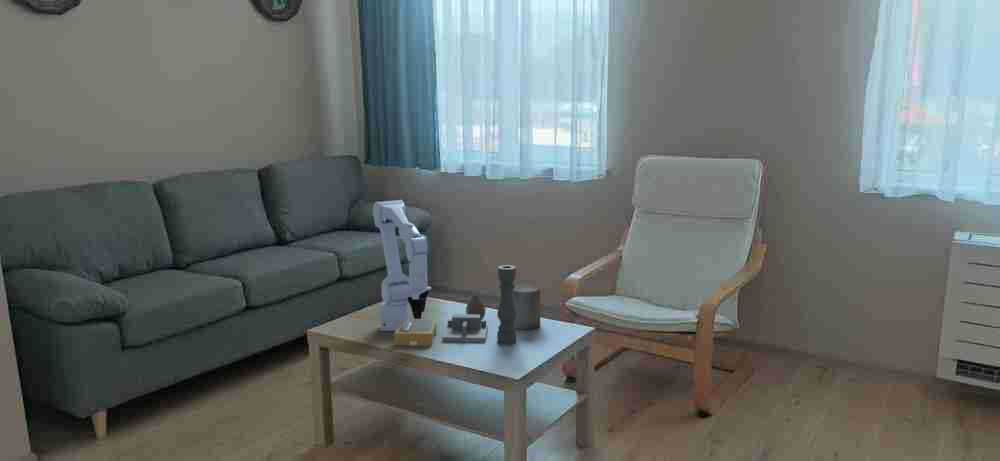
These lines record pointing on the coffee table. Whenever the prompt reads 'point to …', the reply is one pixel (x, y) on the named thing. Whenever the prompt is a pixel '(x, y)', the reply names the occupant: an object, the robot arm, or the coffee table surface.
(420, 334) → the tan bracket frame
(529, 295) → the pillar candle
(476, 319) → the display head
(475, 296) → the vase
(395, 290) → the robot arm
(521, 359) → the coffee table surface
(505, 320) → the candle holder
